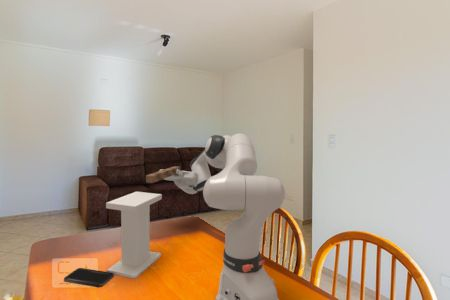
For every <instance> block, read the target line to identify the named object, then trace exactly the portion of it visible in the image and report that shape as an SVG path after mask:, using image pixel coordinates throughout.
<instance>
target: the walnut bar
mask: <svg viewBox="0 0 450 300" xmlns="http://www.w3.org/2000/svg"><path fill="white" fill-rule="evenodd" d="M175 169H179V170H180V171H181V166H177V165H174V166H171V167H169V168H168V169H167V168H165V169H164V170H161V171H160V170H158V171H156V172H152V173H149V174H145V184H146V183H147V184H154V183H156V182H159V181H161V180H165V178H167V177H170V176H172V175H175V174H176V173H175Z"/></svg>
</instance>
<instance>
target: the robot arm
mask: <svg viewBox="0 0 450 300" xmlns="http://www.w3.org/2000/svg"><path fill="white" fill-rule="evenodd" d="M256 158H257V157H256V152H255V147H254V144H253V143H252V140H251V139H250V137H249V136H248V135H247V134H245V133H241V132H240V133H239V132H238V133H235V134H233V135H229V134H228V135H227V134H226V135H220V134H214V135H211V136H210V137H209V139H208V140H207V141H206V143H205V148H204V149H203V150H202V151H200V153H199V154H198V155H197V156H196V157H194V158H193V159H192V160H191V161H190V164H189V167H190V170H191V171H187V170H181V169H180V170H179V169H175V173H176V174H175V175H172V176H170V177H167V178H165V179H164V181H165V180H166V181H173V183H174V185H176V187H178V188H179V189H180V190H182V191H183V192H185V194H186V193H187V194H189V195H194V194H195V195H196V194H197V193H198V192H202V194H203V195H202V196H203V199H204V202H205V203H206V204H207V206H208V207H210V208H213V209H217V210H222V211H224V210H225V211H244V212H243V214H242V215H241V216H239V217H237V218H235V219H233V220H231V221H230V222H229V223H228V225H227V226H226V227H225V230H224V231H225V235H224V237H225V238H224V249H223V253H222V259H223V261H222V263H223V267H222V269H221V271H220V272H221V273H220V276H219V283H218V284H219V285H218V293H217V294H216V296H215V299H214V300H280V299H279V297H278V290H277V287H276V285H275V280H274V279H273V278H272V277H270V276H269V275H268V272H267V271H266V269H265V268H264V264H266V263H265V259H262V254H261V252H260V243H261V241H260V240H261V233H262V229H263V227H264V224H265V222H266V221H267V219H268V217H270V215H271V214H273V213H274V212H275V211H276V210H278V209H279V208H281V206H282V205H283V203H284V201H285V196H286V192H285V191H286V190H285V187H284V184H283V182H281V180H280V179H279V178H277V177H272V176H266V175H256V173H257V170H258V169H257V168H258V163H257V159H256ZM209 165H210V166H211V167H213V168H218V169H220V168H223V169H222V170H221V171H220V172H218V173H216V174H215V175H211V171H210V168H209ZM166 169H168V168H166ZM161 170H164V169H159V171H161Z"/></svg>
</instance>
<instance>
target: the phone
mask: <svg viewBox="0 0 450 300" xmlns="http://www.w3.org/2000/svg"><path fill="white" fill-rule="evenodd" d="M114 276H115V274H114V273H110V272H107V271H102V270H96V269H90V268H85V267H84V268H83V267H78V268H76V269H75V270H73V271H72V272H70V273H69V274H67V275H65V277H64V278H63V282H66V283H71V284H77V285H83V286H88V287H89V286H90V287H95V288H102V287H104V286H105V285H106V284H107V283H108V282H110V281H111V279H113V278H114Z"/></svg>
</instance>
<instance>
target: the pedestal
mask: <svg viewBox="0 0 450 300" xmlns="http://www.w3.org/2000/svg"><path fill="white" fill-rule="evenodd" d="M162 199H163V195H162V193H153V192H143V191H134V192H132V193H128V194H125V195H124V196H121V197H118V198H115V199H112V200H110V201H107V202H106V203H105V209H108V210H109V209H110V210H114V211H115V210H116V211H120V219H121V221H120V224H121V225H120V227H121V228H120V229H121V231H120V232H121V235H120V236H121V241H120V243H121V245H120V247H121V251H120V253H121V258H120V259H121V260H120V259H119V261H117V262H116V263H114V264H113V265H112V266H110V267H109V268H108V269H106V272H110V273H114V275H116V276H121V277H126V278H129V279H133V280H134V279H137V278H138V277H139V276H140V275H142V273H144V272H145V271H146V270H148V268H149V267H151V266H152V264H154V263H155V262H156V261H157V260H158V259H159V258H160V257H162V253H160V252H155V251H150V241H151V240H150V235H151V234H150V218H151V217H150V213H151V211H150V210H151V209H150V208H151V207H150V205H153V204H154V203H157V202H158V201H161V200H162Z"/></svg>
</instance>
